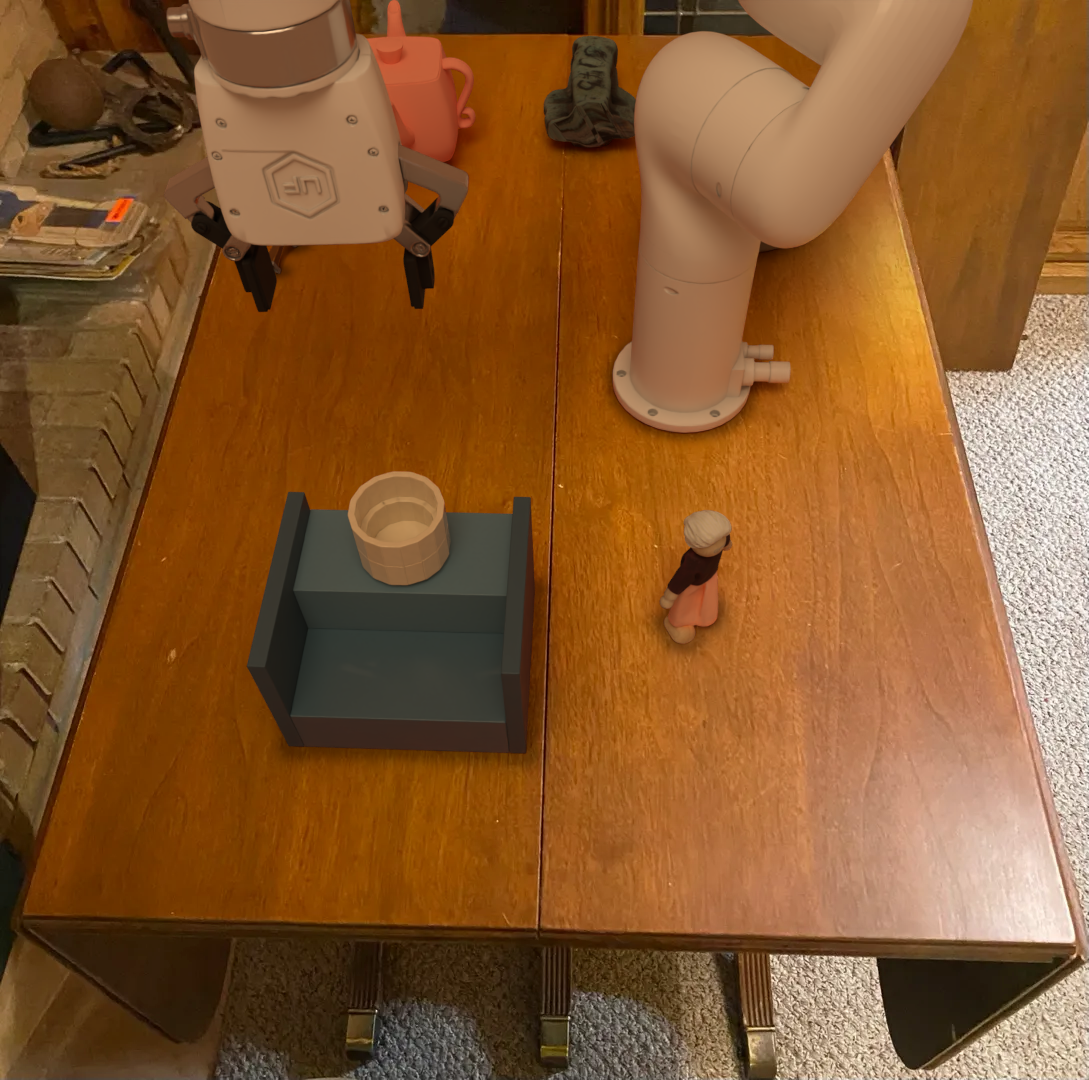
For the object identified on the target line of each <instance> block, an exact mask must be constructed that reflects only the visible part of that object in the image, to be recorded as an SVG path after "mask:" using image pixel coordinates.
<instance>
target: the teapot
mask: <svg viewBox="0 0 1089 1080" xmlns="http://www.w3.org/2000/svg"><path fill="white" fill-rule="evenodd" d="M401 8H402V7H401V4H400V3H399V1H398V0H390V1H389V2H388V5H387V10H386V11H387V12H386V13H387V31H386V36H380V37H369V38H366V39H367V40H368V42H369V44H370V46H371V48H372V51H373V53H374V55H375V58H376V61H377V63H378V66H379V68H380V71H381V74H382V77H383V80H384V82H385V86H386V89H387V92H388V95H389V98H390V102H391V105H392V109H393V112H394V116H395V120H396V124H397V127H398V131H399V135H400V139H401V144H402V146H404V147H407V148H409V149H412V150H414V151H417V152H419V153H422V154H424V155H426V156H429V157H431V158H434V159H436V160H439V161H441V162H444V163H446V162H448V161H451V159H453V157H454V153H455V151H456V147H457V142H458V136H459V129H462V130H465V129H470V128H471V127H472V126H473V125H474V124H475V122H476V117H477V116H476V112H475V110H474V109H473V108H472V107H470V106H466V105H467V103H468V101H469V99H470V98H471V97H470V96H471V94H472V91H473V89H474V83H475V82H474V81H475V77H474V72H473V70H472V68H471V67H470V66H469V65H468V63H467V62H465V61H464V60H462V59H459V58H457V57H447V55H446V52H445V49H444V47H443V44H442V42H441V40H439V39H438V38H436V37H431V36H414V35H413V36H410V35H409V36H407V35H406V31H405V27H404V23H403V17H402V9H401ZM452 70H453V71H457V72H459V73H461V74H462V75H463V76H464V77H465V79H464V80H465V81H464V85H463V89H462V91H461V93H460V95H459V97H458V96H457V90H456V85H455V81H454V76H453V73H452ZM457 97H458V98H457ZM462 115H467V116H468V117H462Z"/></svg>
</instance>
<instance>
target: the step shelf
mask: <svg viewBox="0 0 1089 1080" xmlns="http://www.w3.org/2000/svg"><path fill="white" fill-rule="evenodd" d="M348 510H349V509H317V508H316V509H314V508H313V509H311V508H310V504H309V502H308V499H307V496H306V492H305V491H288V492H287V496H286V499H285V504H284V507H283V512H282V516H281V520H280V525H279V529H278V532H277V537H276V542H275V546H274V551H273V554H272V558H271V562H270V566H269V571H268V575H267V579H266V584H265V588H264V592H263V596H262V600H261V604H260V609H259V612H258V617H257V620H256V624H255V630H254V633H253V638H252V642H251V647H250V650H249V654H248V659H247V663H246V668H247V670H248V672H249V674H250V675H251V678H252V679H253V681H254V683H255V685H256V687H257V688H258V691H259V693H260V695H261V696H262V698H263V700H264V702H265V704H266V706H267V708H268V710H269V711H270V713H271V715H272V717H273V719H274V721H275V723H276V725H277V727H278V729H279V730H280V731H279V732H280V733H281V734H282V736H283V738H284V740H285V742H286V744H287V746H288V747H301V748H303V747H307V748H336V749H338V748H341V749H369V750H370V749H371V750H372V749H373V750H400V751H401V750H402V751H434V752H435V751H436V752H437V751H439V752H464V753H465V752H469V753H470V752H472V753H498V754H509V753H510V754H526V753H527V742H528V725H529V707H530V706H529V705H530V691H531V690H530V688H531V669H532V654H533V653H532V652H533V651H532V650H533V635H534V634H533V632H534V615H535V614H534V613H535V599H536V597H535V595H536V584H535V560H534V541H533V538H534V537H533V518H532V497H531V496H513V503H512V513H501V512H500V513H498V512H497V513H495V512H455V511H453V512H450V511H449V512H447V511H446V515H447V521H448V528H449V534H450V541H451V542H450V551H449V555H448V558H447V559H446V561H445V562H444V564H443V566H442V567H441V568H440V570H439V571H437V572H436V573H435V574H433V575H432V576H431V577H429V578H428V579H425V580H423V581H420V582H417V583H414V584H410V585H409V584H408V585H389V584H387V583H384V582H382V581H379V580H377V579H375V578H373V577H372V576H371V575H370V574H369V573H368V572H367V571H366V570H365V569H364V568H363V566H362V563H361V560H360V557H359V553H358V550H357V546H356V543H355V539H354V536H353V532H352V529H351V526H350V522H349V519H348Z"/></svg>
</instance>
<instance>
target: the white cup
mask: <svg viewBox="0 0 1089 1080" xmlns="http://www.w3.org/2000/svg"><path fill="white" fill-rule="evenodd" d="M347 510H348V519H349V522H350V526H351V529H352V532H353V536H354V539H355V543H356V546H357V550H358V553H359V557H360V560H361V563H362V566H363V568H364V569H365V570H366V571H367V572H368V573H369V574H370V575H371V576H372V577H373V578H375V579H377V580H379V581H382V582H384V583H387V584H389V585H408V584H409V585H410V584H414V583H417V582H420V581H423V580H425V579H428V578H429V577H431V576H432V575H433V574H435V573H436V572H437V571H439V570H440V568H441V567H442V566H443V564H444V562H445V561H446V559H447V558H448V555H449V551H450V542H451V541H450V534H449V528H448V521H447V515H446V512H447V509H446V502H445V500H444V497H443V494H442V492H441V489H440V488H439V486H438V485H436V484H435V483H434V482H433V481H432V480H431V479H430V478H428V477H427V476H424V475H421V474H419V473H415V472H413V471H397V470H396V471H395V470H393V471H389V472H385V473H382V474H379V475H375V476H374V477H372V478H370V479H369V480H367V481H365V482H364V483H363V484H361V485H360V486H359V487H358V489H357V490H356V492H355V493H354V494H353V495H352V497H351V498H350V500H349V505H348V509H347Z"/></svg>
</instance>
